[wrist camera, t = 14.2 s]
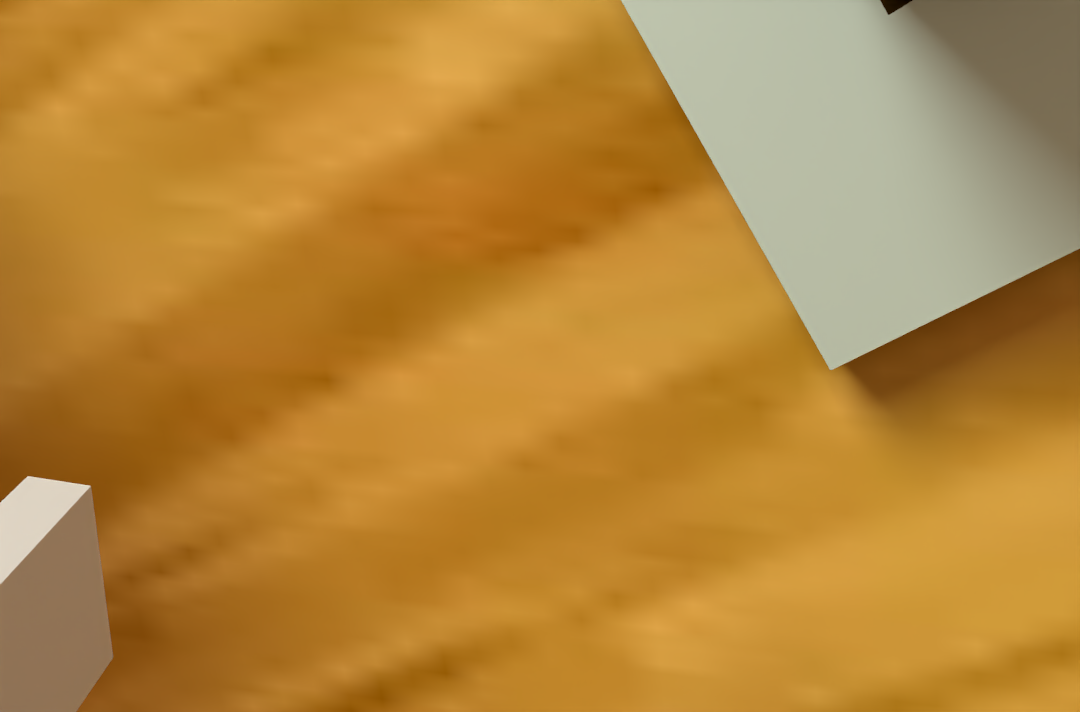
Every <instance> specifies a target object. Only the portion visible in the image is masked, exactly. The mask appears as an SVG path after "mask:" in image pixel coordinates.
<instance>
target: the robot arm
mask: <svg viewBox="0 0 1080 712" xmlns="http://www.w3.org/2000/svg"><path fill="white" fill-rule="evenodd" d="M112 659H113V651H112V643H111V636H110V628H109V620H108V613H107V605H106V597H105V590H104V582H103V574H102V566H101V559H100V551H99V543H98V536H97V528H96V520H95V513H94V505H93V497H92V489H91V486H89V485H82V484H76V483H69V482H63V481H56V480H50V479H43V478H37V477H30V476H27V477H26V478H25V479H24V480H23V481H22V482H21V483H20V484H19V485H18V486H17V487H16V488H15V489H14V490H13V491H12V492H11V493H10V494H9V495H8V496H7V497H6V498H5V499H3V500H2V501H1V502H0V712H76V711H77V710H78V708H79V707H80V705H81V704H82V702H83V701H84V700H85V698H86V697H87V695H88V694H89V692H90V691H91V689H92V688H93V686H94V685H95V683H96V682H97V681H98V679H99V678H100V676H101V675H102V673H103V672H104V670H105V669H106V667H107V666H108V664H109V663H110V662H111V660H112Z"/></svg>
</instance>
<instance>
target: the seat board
mask: <svg viewBox="0 0 1080 712" xmlns="http://www.w3.org/2000/svg"><path fill="white" fill-rule="evenodd" d="M621 1H622V3H623V4H624V6H625V8H626V10H627V11H628V13H629V15H630V17H631V19H632V20H633V22H634V24H635V26H636V27H637V29H638V31H639V33H640V34H641V36H642V38H643V40H644V42H645V43H646V45H647V47H648V49H649V50H650V52H651V54H652V56H653V57H654V59H655V61H656V63H657V65H658V66H659V68H660V70H661V72H662V73H663V75H664V77H665V79H666V80H667V82H668V84H669V86H670V88H671V89H672V91H673V93H674V95H675V96H676V98H677V100H678V102H679V103H680V105H681V107H682V109H683V110H684V112H685V114H686V116H687V118H688V119H689V121H690V123H691V125H692V126H693V128H694V130H695V132H696V133H697V135H698V137H699V139H700V141H701V142H702V144H703V146H704V148H705V149H706V151H707V153H708V155H709V156H710V158H711V160H712V162H713V164H714V165H715V167H716V169H717V171H718V172H719V174H720V176H721V178H722V179H723V181H724V183H725V185H726V187H727V188H728V190H729V192H730V194H731V195H732V197H733V199H734V201H735V202H736V204H737V206H738V208H739V209H740V211H741V213H742V215H743V217H744V218H745V220H746V222H747V224H748V225H749V227H750V229H751V231H752V232H753V234H754V236H755V238H756V240H757V241H758V243H759V245H760V247H761V248H762V250H763V252H764V254H765V255H766V257H767V259H768V261H769V263H770V264H771V266H772V268H773V270H774V271H775V273H776V275H777V277H778V278H779V280H780V282H781V284H782V286H783V287H784V289H785V291H786V293H787V294H788V296H789V298H790V300H791V301H792V303H793V305H794V307H795V309H796V310H797V312H798V314H799V316H800V317H801V319H802V321H803V323H804V324H805V326H806V328H807V330H808V331H809V333H810V335H811V337H812V339H813V340H814V342H815V344H816V346H817V347H818V349H819V351H820V353H821V354H822V356H823V358H824V360H825V362H826V363H827V365H828V367H829V369H830V370H833V369H835V368H837V367H839V366H841V365H843V364H845V363H847V362H849V361H851V360H853V359H855V358H857V357H859V356H861V355H863V354H865V353H867V352H869V351H872V350H874V349H876V348H878V347H880V346H882V345H884V344H886V343H888V342H890V341H892V340H894V339H896V338H898V337H900V336H902V335H904V334H906V333H908V332H910V331H912V330H914V329H916V328H918V327H921V326H923V325H925V324H927V323H929V322H931V321H933V320H935V319H937V318H939V317H941V316H943V315H945V314H947V313H949V312H951V311H953V310H955V309H957V308H959V307H961V306H963V305H965V304H967V303H970V302H972V301H974V300H976V299H978V298H980V297H982V296H984V295H986V294H988V293H990V292H992V291H994V290H996V289H998V288H1000V287H1002V286H1004V285H1006V284H1008V283H1010V282H1012V281H1014V280H1016V279H1019V278H1021V277H1023V276H1025V275H1027V274H1029V273H1031V272H1033V271H1035V270H1037V269H1039V268H1041V267H1043V266H1045V265H1047V264H1049V263H1051V262H1053V261H1055V260H1057V259H1059V258H1061V257H1063V256H1065V255H1068V254H1070V253H1072V252H1074V251H1076V250H1078V249H1080V0H913V1H911V2H909V3H908V4H906V5H904V6H903V7H901V8H900V9H898V10H896V11H895V12H893V13H891V14H890V15H888V14H887V12H886V10H885V8H884V6H883V4H882V2H881V1H880V0H621Z"/></svg>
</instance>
